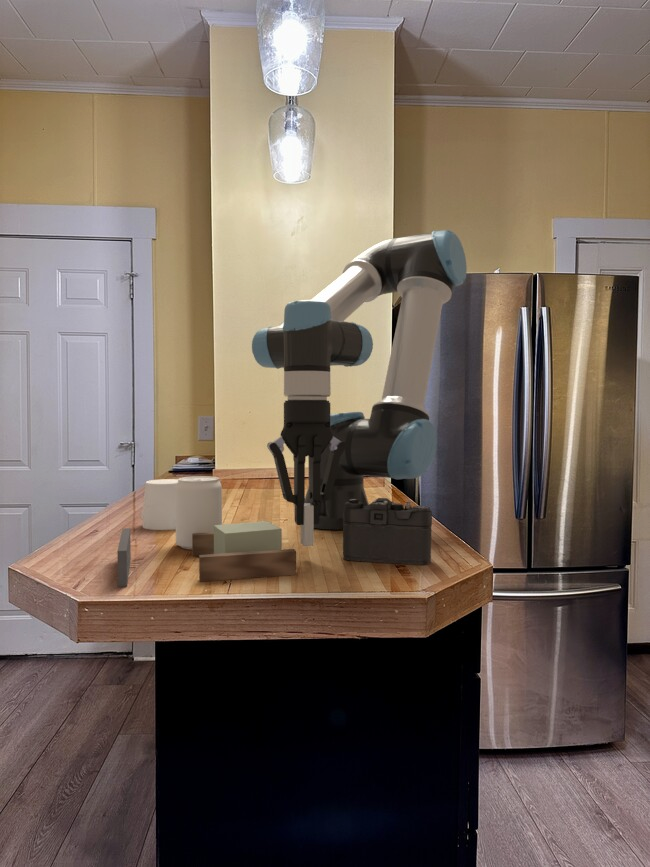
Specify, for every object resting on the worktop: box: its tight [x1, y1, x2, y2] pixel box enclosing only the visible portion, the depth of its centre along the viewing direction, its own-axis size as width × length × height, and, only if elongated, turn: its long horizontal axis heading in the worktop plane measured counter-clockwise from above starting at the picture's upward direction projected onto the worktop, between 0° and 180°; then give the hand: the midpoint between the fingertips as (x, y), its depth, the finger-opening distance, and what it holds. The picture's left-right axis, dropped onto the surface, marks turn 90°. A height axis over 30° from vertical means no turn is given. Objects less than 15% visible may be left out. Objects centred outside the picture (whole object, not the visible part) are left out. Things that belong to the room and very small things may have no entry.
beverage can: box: [175, 475, 223, 550], centre depth 111 cm, size 8×8×12 cm
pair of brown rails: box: [191, 532, 297, 583], centre depth 99 cm, size 14×17×4 cm
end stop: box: [116, 527, 132, 588], centre depth 94 cm, size 1×16×5 cm, turn 15°
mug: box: [140, 478, 179, 531], centre depth 128 cm, size 12×9×8 cm
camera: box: [342, 497, 433, 566], centre depth 103 cm, size 14×11×10 cm
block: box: [214, 520, 283, 554], centre depth 99 cm, size 9×7×6 cm
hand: (307, 544), depth 101 cm, fingers closed
